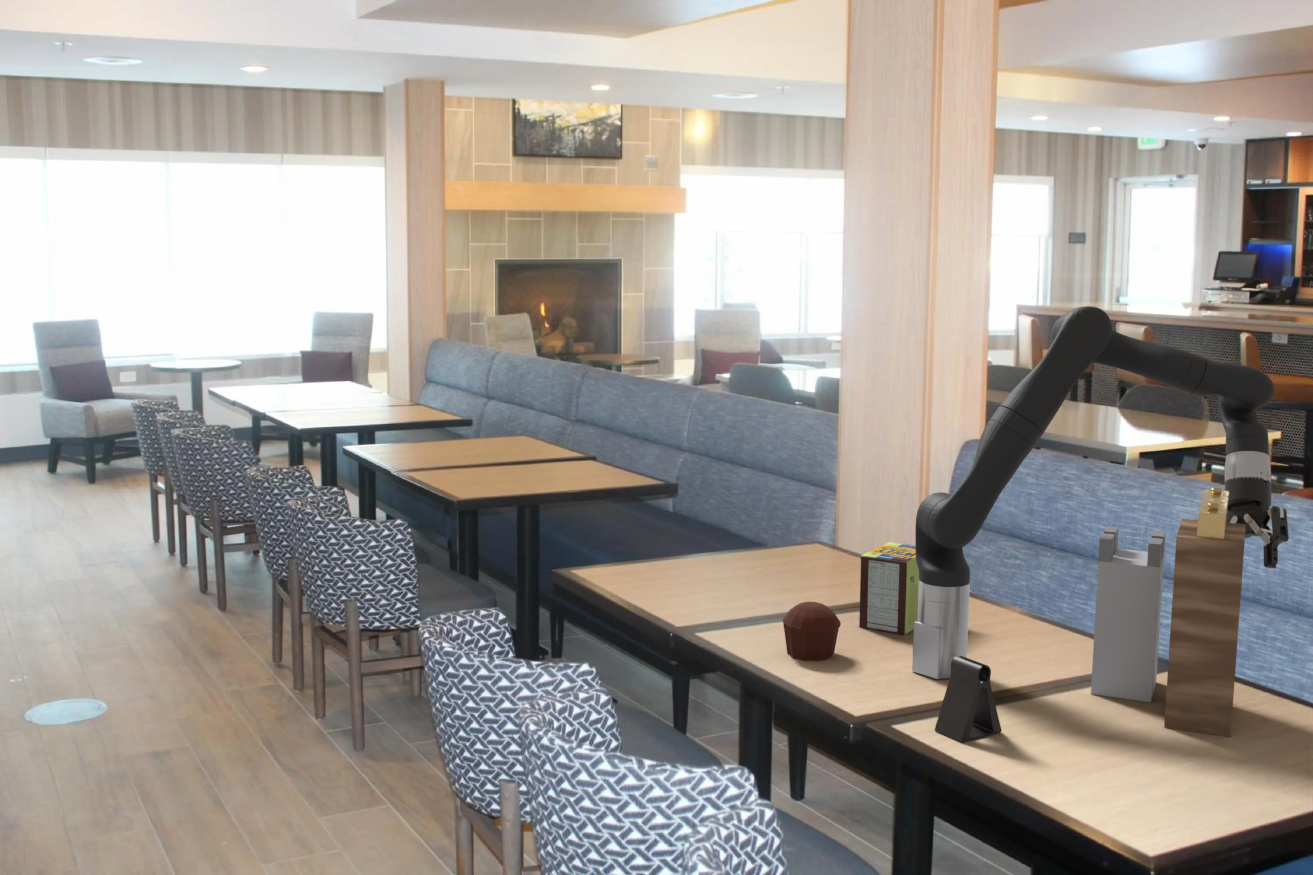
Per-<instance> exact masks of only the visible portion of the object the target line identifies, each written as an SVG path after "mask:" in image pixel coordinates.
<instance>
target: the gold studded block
mask: <svg viewBox="0 0 1313 875" xmlns="http://www.w3.org/2000/svg"><path fill="white" fill-rule="evenodd" d="M1202 494H1203V495H1202V497H1201V502H1200V506H1199V508H1198V509H1199V510H1198V516H1197V520H1198V528H1197V537H1201V538H1212V539H1223V540H1224V536H1225V529H1226V521H1227V514H1228V501H1229V491H1225V489H1224V490H1223V489H1222V487H1217V486H1215V487H1214V486H1212V487H1211V489H1209V488H1208V489H1207V488H1205V489H1204V490H1203V493H1202Z"/></svg>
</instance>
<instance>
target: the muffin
mask: <svg viewBox="0 0 1313 875" xmlns="http://www.w3.org/2000/svg"><path fill="white" fill-rule="evenodd" d="M782 624H783V630H784V631H783V632H784V637H785V647H786V653H787V655H788V656H790V657H791V658H792V659H794V660H800V661H804V662H823V661H826V660H831V659H832V657H833V656H834V655H835V650H836V645H837V639H838V634H839V629H840V627H841V624H842V623H841V620H840V619H839V617H838V616H837V615H836V613H835V612H834V610H833V609H831V608H830V607H829V606H827V605H826V604H825V603H821V602H816V601H804V602H800V603H798V604H796V605H794V606H793V607H791V608H790V609H789V610H788V611H787V613H786V614H785V616H784V617H782Z"/></svg>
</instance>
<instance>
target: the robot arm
mask: <svg viewBox="0 0 1313 875" xmlns="http://www.w3.org/2000/svg"><path fill="white" fill-rule="evenodd" d="M1050 334H1051V335H1050V336H1051V337H1050V338H1051V345H1050V346H1049V348H1048V349H1047V350H1046V352H1045V354H1044V355H1043V357H1042V358H1041V360H1040V361H1039V362H1038V364H1036V365H1035V367H1034V368H1033V369H1032V370H1031V371H1030V372H1029V373H1028V374H1026V375H1025V377H1024V378H1023V379H1022V380H1021V381H1020V382H1019V383H1018V384H1017V385H1016V386H1015V387H1014V388H1013V389H1012V390H1011V392H1009V394H1008V395H1007V396H1006V398H1004V399H1003V401H1002V402H1001V403H1000V405H999V407H997V409H996V410H995V411H994V413H993V415H992V416H991V417H990V419H989V420H988V422H987V423H986V424H985V427H984V428H983V431H982V433H981V436H980V439H979V442H978V445H977V450H976V453H975V457H974V460H973V463H972V465H971V468H970V469H969V471H968V473H967V474H966V477H964V479H963V480H962V481H961V483H960V485H959V486H958V487H957V488H956V490H955V491H954V492H953V493H952V494H951V493H947V492H943V491H942V492H941V491H939V492H934V493H931V494H929V495H928V496H926V497H925V498H924V499H923V500H922V501H921V503H920V504H919V506H918V508H917V511H916V512H917V513H916V516H915V538H914V539H915V546H916V563H917V566H918V570H919V589H918V615H917V621H916V622H914V629H913V632H912V633H913V638H912V660H911V661H912V664H911V665H912V666H911V667H912V669H911V671H912V672H913V673H916V674H920V675H924V676H926V677H929V678H932V679H935V680H941V679H950V675H951V662H952V660H953V658H954V657H955V656H956V657H959V656H963V657H965V658H968V657H967V656H968V638H969V636H968V635H969V634H968V633H969V610H970V589H971V588H970V587H971V569H970V566H969V564H968V562H967V561H966V558H965V554H964V551H963V549H964V547H966V546H967V545H968V544H970V543H971V542H972V541H973V540H974V539H975V538H976V536H977V535H978V534H979V532H980V530H981V528H982V527H983V525H984V523H985V521H986V519H987V518H988V516H989V514H990V512H991V510H992V509H993V506H994V505H995V504H996V501H997V500H998V498H999V496H1000V495H1001V494H1002V492H1003V491H1004V489H1005V488H1006V486H1007V485H1008V483H1009V482H1010V481H1011V479H1012V478H1013V477H1014V475H1015V473H1016V472H1017V470H1018V469H1019V468H1020V466H1021V465H1022V463H1023V462H1024V461H1025V459H1026V458H1027V457H1028V455H1029V454H1030V453H1031V452H1032V450H1033V449H1034V448H1035V446H1036V445H1037V443H1038V442H1039V440H1040V439H1041V438H1042V436H1043V435H1044V434H1045V432H1046V430H1047V429H1048V427H1049V426H1050V424H1051V423H1052V421H1053V420H1054V418H1055V416H1056V414H1057V413H1058V411H1059V410H1060V408H1061V407H1062V405H1063V403H1064V402H1065V400H1066V398H1067V397H1068V395H1069V393H1070V392H1071V390H1072V389H1073V386H1074V385H1075V384H1076V383H1077V382H1078V380H1079V379H1080V378H1081V376H1082V375H1083V374H1084V373H1085V372H1086V371H1087V369H1088V368H1090V366H1091V365H1092V364H1093V363H1094V364H1099V365H1104V366H1108V367H1110V368H1111V367H1112V368H1115V369H1120V370H1121V371H1126V372H1130V373H1133V374H1135V375H1137V376H1141V377H1143V378H1147V379H1149V380H1152V381H1155V382H1157V383H1160V384H1162V385H1166V386H1168V387H1170V388H1173V389H1176V390H1179V391H1182V392H1184V393H1186V394H1187V393H1188V394H1190V395H1193V396H1197V397H1201V398H1202V397H1209V396H1214V395H1215V396H1218V410H1219V414H1220V418H1221V422H1222V427H1223V429H1224V431H1225V464H1224V491H1229V501H1228V514H1227V521H1226V523H1238V524H1246V528H1245V539H1248V538H1251V537H1259V538H1260V540H1262V542H1263V543H1264V544H1265V545H1263V566H1264V568H1267V569H1276V568H1277V565H1278V562H1279V553H1278V551H1279V546H1280V544H1282V543H1284V542H1285V543H1286V542H1288V541H1289V539H1290V538H1289V526H1288V516H1287V515H1288V514H1287V513H1288V512H1287V508H1284V507H1281V506H1278V505H1277V506H1276V505H1272V470H1271V463H1270V457H1269V455H1270V454H1269V453H1270V451H1269V450H1270V448H1269V445H1270V444H1269V443H1270V442H1269V433H1268V429H1267V427H1266V426H1265V425H1264V424H1263V423H1260V422H1259V420H1258V410H1259V409H1261V408H1262V407H1264V406H1266V405H1267V404H1268V403H1269V402H1270V401H1271V400H1272V399H1273V397H1274V395H1275V390H1276V389H1275V384H1274V382H1273V380H1272V378H1271V377H1270V376H1268V374H1267V373H1265V372H1264V371H1261V370H1260V369H1258V368H1255V367H1252V366H1247V365H1243V364H1237V363H1233V362H1231V363H1230V362H1225V361H1224V362H1223V361H1216V360H1213V359H1209V358H1207V357H1205V356H1202V355H1199V354H1196V353H1193V352H1191V351H1188V350H1185V349H1182V348H1179V347H1175V346H1171V345H1165V344H1161V343H1156V342H1152V341H1145V340H1142V339H1139V338H1138V339H1137V338H1134V337H1132V336H1129V335H1125V334H1122V333H1120V332H1117V331H1115V330H1113V324H1112V320H1111V318H1110V317H1109V315H1108V313H1106V311H1105V310H1103V309H1102V308H1099V307H1097V306H1089V305H1087V306H1085V305H1084V306H1080V307H1075V308H1074V309H1071V310H1069V311H1068V312H1066V313H1064V314H1062V315H1061V316H1060V317H1059V318H1057V319H1056V321H1055V322H1054V324H1053V326H1052V329H1051V333H1050ZM1269 521H1271V526H1270V525H1269V523H1270V522H1269ZM959 658H960V657H959Z"/></svg>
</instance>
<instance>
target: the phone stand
mask: <svg viewBox="0 0 1313 875" xmlns="http://www.w3.org/2000/svg"><path fill="white" fill-rule="evenodd" d="M959 657H960V658H959ZM959 657H956V656H955V657H954V658H953V660H952V662H951V675H950V678H948V679H949V680H948V683H947V686H946V690H945V693H944V697H943V700H942V703H941V706H940V709H939V712H938V716H937V720H936V723H935V727H934V731H935V732H936V733H939V734H942V735H944V736H946V737H948V738H950V739H952V740H954V741H957V742H959V743H961V744H964V743H968V742H971V741H974V740H975V741H976V740H978V739H981V738H983V739H984V738H986V737H987V738H988V737H990V736H994V735H998V734H1001V733H1002V728H1001V722H1000V718H999V714H998V711H997V706H996V702H995V698H994V694H993V690H992V689H993V688H992V685H991V675H992V670H991V668H990V666H989V665H987V664H984V663H982V662H979V661H976V660H973V659H970V658H969V657H967V658H965V657H963V656H959Z"/></svg>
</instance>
